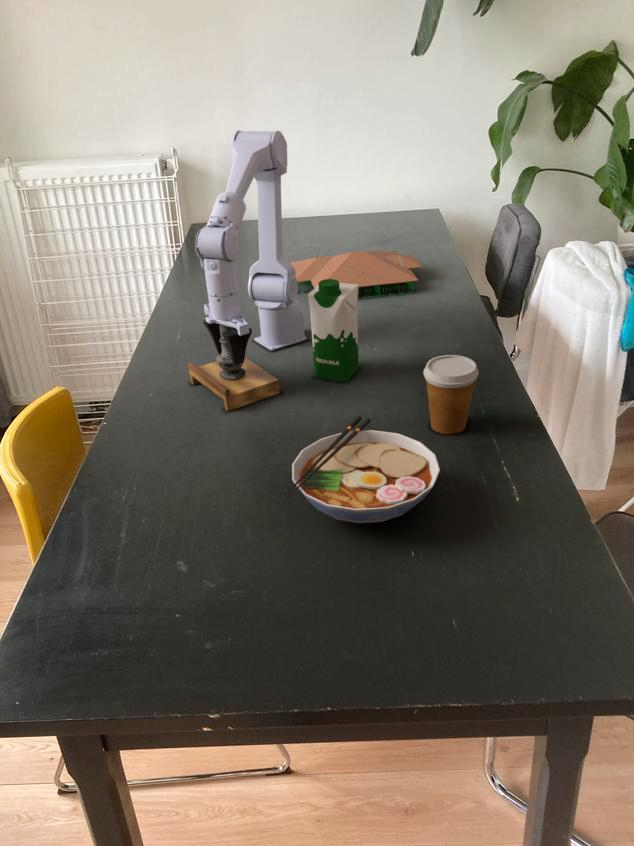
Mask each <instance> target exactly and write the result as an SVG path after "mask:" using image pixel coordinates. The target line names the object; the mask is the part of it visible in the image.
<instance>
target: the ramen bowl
mask: <svg viewBox="0 0 634 846" xmlns="http://www.w3.org/2000/svg"><path fill="white" fill-rule="evenodd" d="M361 421H362V416H361V415H357V416H356V417H355V418H353V420H352V422H350V424H349V425H348V426H347V427H346V428H345V429H344V430H343V431H342V432H340V433H336V434H332V435H330V436H326V437H322V438H320V439H318V440H316V441H314V442H313V443H311V444H309V445H308V446H306V447H304V448H303V449H301V451H300V452H299V453H298V454H297V457H296V458H295V459H294V461H293V462H292V464H291V480H292V482H293V483H294V484H293V486H292V487H291V488H290V489H289V490H288V491H287V492H286V493H285V494H284V496H285V497H286V496H287V498H289V497H291V496H292V495H293V493H295V492H296V491H297V490H299V492H301V494H302V495H303V496H304V497H305V498H306V500H307V501H308V502H309V503H310V504H311V505H312V506H313V507H314V508H315V509H317V510H318V511H320V512H322V513H323V514H326V515H327V516H330V517H331V518H333V519H335V520H337V521H342V522H348V523H349V522H350V523H354V524H355V523H356V524H371V523H372V524H373V523H383V522H385V521H390V520H391V519H395V518H398V517H401V516H403V515H404V514H405V513H407V512H409V511H410V510H411V509H412V508H414V507H416V506H417V504H420V502H422V501H423V500H424V499H425V498H426V497H427V496H428V495H429V493H430V492H431V490H432V489H433V488H434V485H435V483H436V481H437V478H438V476H439V473H440V472H441V470H440V466H439V462H438V459H437V456H436V454H435V453H434V452H433V451H431V449H430V448H428V447H427V446H425V444H423V443H422V442H421V441H419V440H416V439H413V438H411V437H408V436H407V435H403V434H401V433H397V432H390V431H382V430H374V429H366V430H363V429H365V428H366V427H367V426H368V425H369V424H370V423H371V421H372V419H371V418H370V417H366V418H365V419H364V420H363V422H361ZM359 422H361V423H360V424H359ZM357 424H359V426H357ZM356 426H357V427H356ZM355 427H356V428H355ZM353 428H355V430H353Z"/></svg>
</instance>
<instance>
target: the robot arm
mask: <svg viewBox="0 0 634 846" xmlns="http://www.w3.org/2000/svg"><path fill="white" fill-rule="evenodd" d="M229 145H230V146H229V147H230V148H229V150H230V156H231V161H232V164H231V165H232V166H231V170H230V172H229V177H228V181H227V183H226V188H225V192H222V193H220V194H218V195H217V197H216V200H215V202H214V205H213V207H212V210H211V211H210V212H211V213H210V215H209V218H208V221H207V223H206V225H205V226H203V227H202V228H201V229H199V230H198V231H197V232H196V235H195V246H194V248H195V253H196V256H197V258H198V259H199V263H200V267H201V269H203V270H204V276H205V284H206V291H207V298H208V303H205V304H203V309H204V314H205V315H206V316H207V317H205V319H204V320H202V324H203V325H204V327H205V328H206V329H207V331H208V333H209V334H210V337H211V339H212V341H213V344H214V347H215V350H216V352H217V355H219V354H221V353H222V346H221V342H220V341H219V339H220V338H221V335H220V327H219V326H220V324H221V325H225V326H229V327H231V330H229V331H226V332H223V333H222V336H223V337H224V338H225V340H226V342H227V344H228V347H229V350H230V354H231V359H232V362H233V364H234V365H237V364H241V363H244V359H245V358H246V351H247V346H248V343H249V341H250V338H251V336H252V334H253V329H252V328H250V325H249V323H248V322H247V321H246V319H245V317H244V315H243V313H242V311H241V306H240V299H239V298H240V297H239V289H238V282H237V273H236V263H235V258H236V257H237V255H238V252H239V240H240V232H239V230H240V226H241V224H242V221H243V219H244V217H245V213H246V210H247V206H246V203H245V201H244V199H245V198H246V195H247V192H248V191H249V189H250V186H251V185H252V183H253V181H254V179H255V181H256V199H257V227H258V228H257V229H258V254H259V255H258V256H259V259H258V260H257V261H255V262H254V263H253V264H252V265H251V266H250V268H249V273H248V274H249V276H248V281H247V293H248V297H249V298H250V300H251V301H253V302H254V306H257V309H258V318H259V319H258V320H259V328H260V329H259V330H260V336H256V337H254V338H253V340H254V341H255V342H256V343H258V344H260V345H261V346H262V347H264V348H266V349H268V350H269V351H272V352H273V351H277V350H279V349H283V348H286V347H289V346H292V345H295V344H298V343H300V342H304V341H307V337H306V335H305V321H304V310H303V306H302V304H301V302H300V301H299V300H298V299H297V298H298V297H297V296H298V294H299V292H298V291H299V283H298V282H297V279H296V271H295V267H294V266H293V265H292V264H290V262H289V261H288V260H287V259H285V258H284V256H283V220H282V219H283V218H282V217H283V215H282V213H283V212H282V176H283V175H285V174H287V173H288V142H287V140H286V138H285V136H284V134H283V132H282V131H281V130H274V131H263V130H262V131H260V130H259V131H253V130H252V131H251V130H250V131H249V130H235V131H234V133H233V134H232V136H231V138H230V144H229Z"/></svg>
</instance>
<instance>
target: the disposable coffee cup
mask: <svg viewBox="0 0 634 846" xmlns="http://www.w3.org/2000/svg"><path fill="white" fill-rule="evenodd" d="M422 373H423V376H424V379H425V381H426V392H427V400H428V401H427V402H428V410H429V419H430V427H431V429H432V430H433V431H435V433H439V434H443V435H454V434H459V433H462V432H463V431H464V430H465V429H466V427H467V421H468V417H469V412H470V407H471V403H472V399H473V393H474V388H475V384H476V380H477V379H478V376H479V374H480V372H479V369H478V368H477V364H476V362H475V361H474V360H473V359H471V358H470V357H467V356H463V355H458V354H457V355H456V354H445V355H438V356H435V357H433V358H431V359H429V361H427V362H426V364H425V367H424V369H423V372H422Z"/></svg>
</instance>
